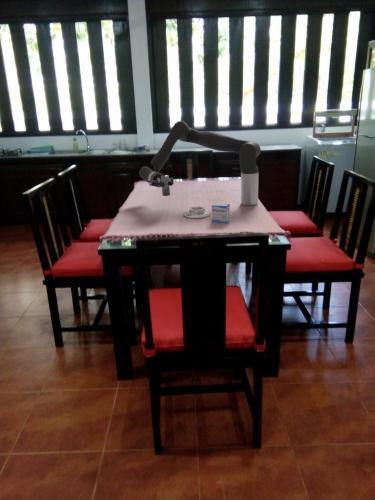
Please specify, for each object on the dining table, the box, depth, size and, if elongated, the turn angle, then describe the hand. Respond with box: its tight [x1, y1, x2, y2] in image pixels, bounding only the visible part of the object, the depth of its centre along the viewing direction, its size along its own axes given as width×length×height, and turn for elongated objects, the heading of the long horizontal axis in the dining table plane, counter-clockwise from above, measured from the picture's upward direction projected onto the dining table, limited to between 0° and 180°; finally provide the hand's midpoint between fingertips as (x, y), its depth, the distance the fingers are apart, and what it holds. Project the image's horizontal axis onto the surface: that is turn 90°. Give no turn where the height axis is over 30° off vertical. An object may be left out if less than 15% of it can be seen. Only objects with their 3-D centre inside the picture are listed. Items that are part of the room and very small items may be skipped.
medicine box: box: [211, 203, 231, 224], centre depth 189 cm, size 8×4×9 cm, turn 68°
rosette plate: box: [183, 206, 212, 219], centre depth 204 cm, size 14×14×3 cm
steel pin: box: [161, 174, 171, 197], centre depth 202 cm, size 4×4×10 cm
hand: (167, 184), depth 199 cm, fingers closed on steel pin, 4 cm apart
